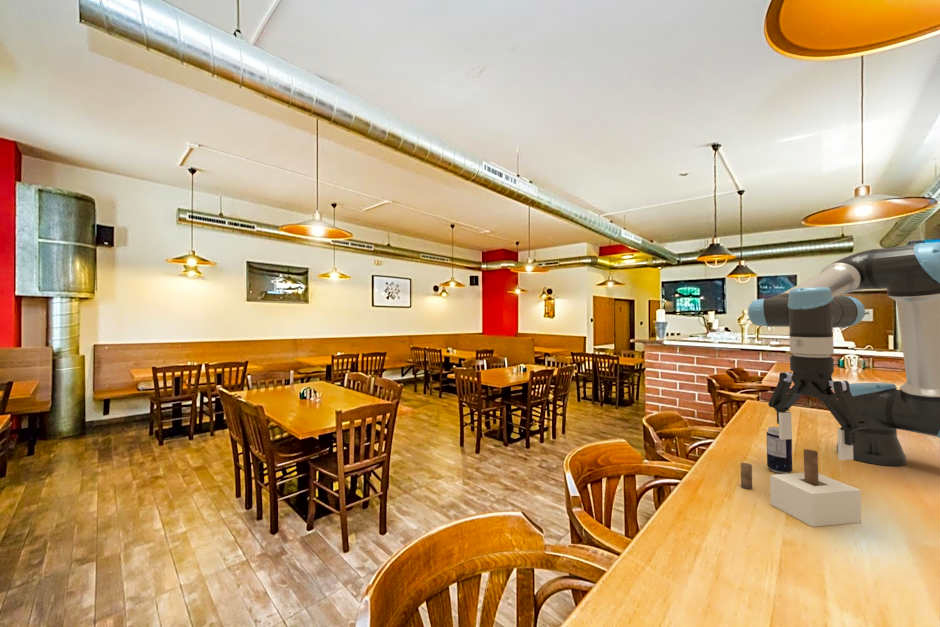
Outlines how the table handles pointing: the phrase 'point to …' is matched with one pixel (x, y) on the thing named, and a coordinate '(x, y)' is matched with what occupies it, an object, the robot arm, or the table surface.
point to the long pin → (811, 467)
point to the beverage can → (778, 452)
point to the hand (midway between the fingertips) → (813, 448)
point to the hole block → (816, 499)
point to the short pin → (746, 476)
